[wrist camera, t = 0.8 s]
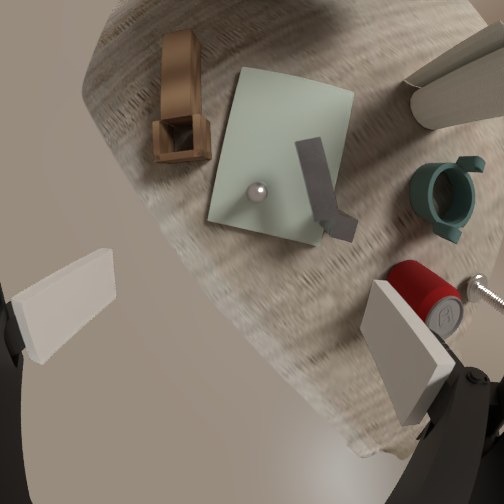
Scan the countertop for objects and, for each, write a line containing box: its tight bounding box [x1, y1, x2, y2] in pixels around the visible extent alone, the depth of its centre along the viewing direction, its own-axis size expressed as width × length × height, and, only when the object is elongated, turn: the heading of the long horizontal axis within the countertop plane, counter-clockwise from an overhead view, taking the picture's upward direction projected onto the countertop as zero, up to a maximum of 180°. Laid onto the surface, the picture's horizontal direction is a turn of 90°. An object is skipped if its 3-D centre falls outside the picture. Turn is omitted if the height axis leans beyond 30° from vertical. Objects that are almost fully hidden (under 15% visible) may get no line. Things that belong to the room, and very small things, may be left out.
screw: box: [466, 274, 504, 314], centre depth 27 cm, size 13×5×5 cm
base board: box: [207, 67, 354, 246], centre depth 31 cm, size 20×14×1 cm
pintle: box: [246, 182, 269, 204], centre depth 29 cm, size 2×2×7 cm
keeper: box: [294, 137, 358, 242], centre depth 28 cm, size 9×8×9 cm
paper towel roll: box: [405, 20, 504, 130], centre depth 17 cm, size 7×6×21 cm
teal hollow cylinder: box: [409, 156, 485, 244], centre depth 27 cm, size 9×9×9 cm
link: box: [152, 28, 212, 164], centre depth 28 cm, size 17×6×5 cm, turn 3°
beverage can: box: [387, 260, 464, 340], centre depth 29 cm, size 7×7×12 cm
